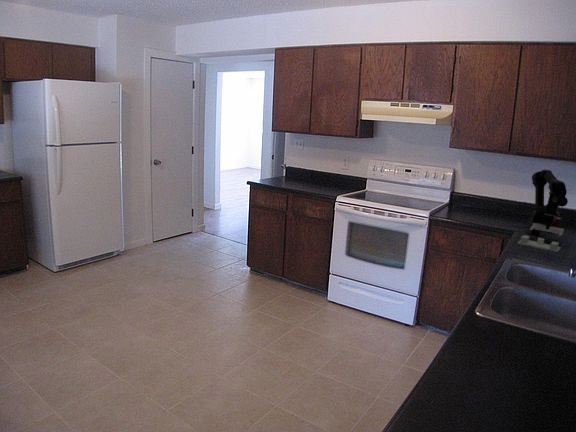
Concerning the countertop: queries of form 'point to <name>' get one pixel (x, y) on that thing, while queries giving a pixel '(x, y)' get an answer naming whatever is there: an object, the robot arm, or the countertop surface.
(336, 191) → the countertop surface
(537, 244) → the stand
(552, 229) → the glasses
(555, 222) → the mug
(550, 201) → the robot arm
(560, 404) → the countertop surface
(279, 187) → the countertop surface
